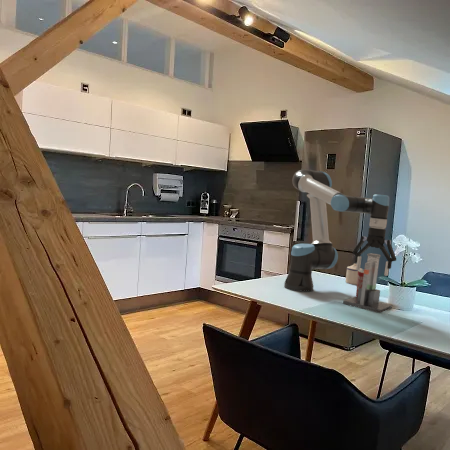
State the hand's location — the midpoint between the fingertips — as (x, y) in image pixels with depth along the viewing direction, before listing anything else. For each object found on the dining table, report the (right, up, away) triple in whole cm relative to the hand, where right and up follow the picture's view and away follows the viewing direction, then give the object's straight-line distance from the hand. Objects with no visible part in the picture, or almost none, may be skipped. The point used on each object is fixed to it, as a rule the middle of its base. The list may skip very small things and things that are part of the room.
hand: (371, 272), depth 215 cm
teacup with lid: (+7, -12, +59) cm, 61 cm away
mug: (+2, -15, +22) cm, 26 cm away
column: (-1, -14, +1) cm, 14 cm away
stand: (-2, -16, +1) cm, 16 cm away
